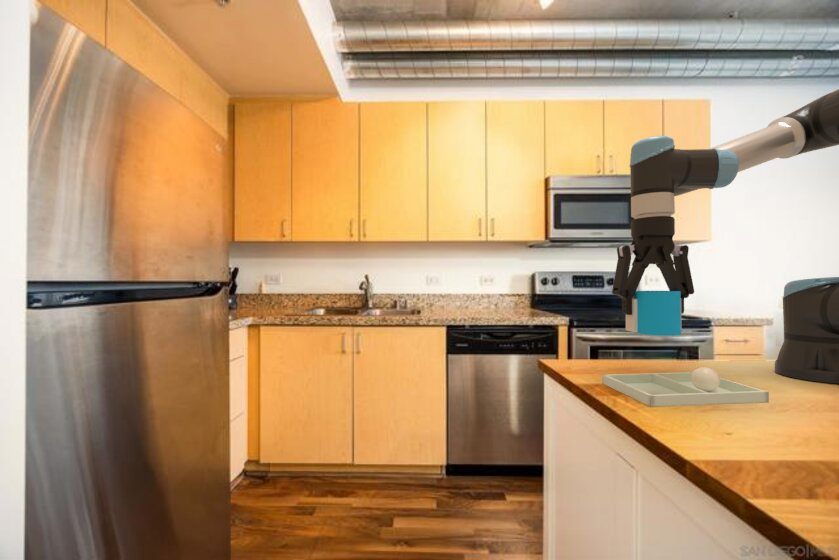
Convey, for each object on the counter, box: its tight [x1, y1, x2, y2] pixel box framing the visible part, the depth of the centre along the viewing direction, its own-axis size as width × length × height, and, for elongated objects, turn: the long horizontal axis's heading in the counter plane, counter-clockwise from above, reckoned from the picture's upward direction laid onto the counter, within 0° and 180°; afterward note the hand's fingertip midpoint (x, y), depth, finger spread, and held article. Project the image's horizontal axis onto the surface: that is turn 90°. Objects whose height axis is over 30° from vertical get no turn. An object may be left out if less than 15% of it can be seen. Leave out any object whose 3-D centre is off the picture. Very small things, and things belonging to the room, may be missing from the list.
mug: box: [632, 290, 682, 337], centre depth 79 cm, size 12×8×8 cm
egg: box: [691, 366, 720, 391], centre depth 80 cm, size 5×5×5 cm
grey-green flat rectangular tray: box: [601, 371, 770, 408], centre depth 80 cm, size 23×16×2 cm
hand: (653, 330), depth 79 cm, fingers closed on mug, 8 cm apart
